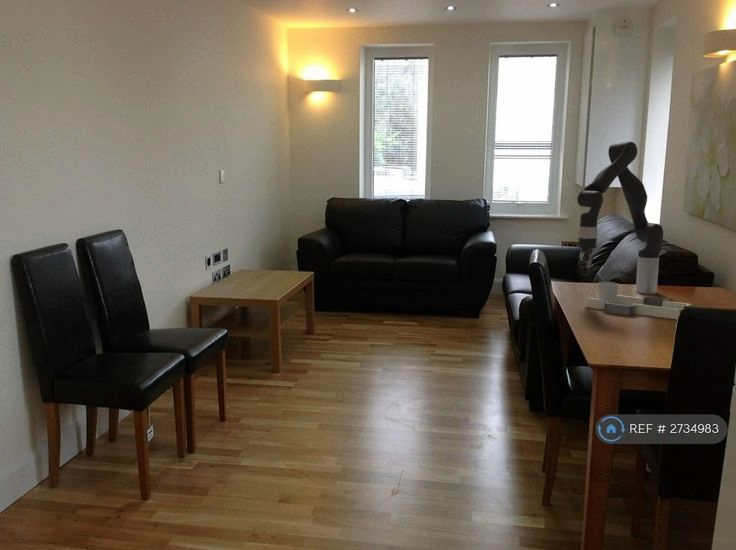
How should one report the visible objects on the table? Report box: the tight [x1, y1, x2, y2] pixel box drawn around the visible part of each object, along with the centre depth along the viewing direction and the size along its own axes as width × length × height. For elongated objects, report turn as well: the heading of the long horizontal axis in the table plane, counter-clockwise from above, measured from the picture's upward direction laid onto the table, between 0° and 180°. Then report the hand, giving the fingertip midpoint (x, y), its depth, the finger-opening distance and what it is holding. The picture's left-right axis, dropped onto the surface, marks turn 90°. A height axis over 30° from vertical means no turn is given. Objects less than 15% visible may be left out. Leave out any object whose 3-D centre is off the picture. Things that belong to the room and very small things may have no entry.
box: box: [584, 292, 692, 320], centre depth 273 cm, size 25×39×4 cm, turn 52°
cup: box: [597, 281, 619, 304], centre depth 280 cm, size 8×8×10 cm
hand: (585, 275), depth 285 cm, fingers closed
